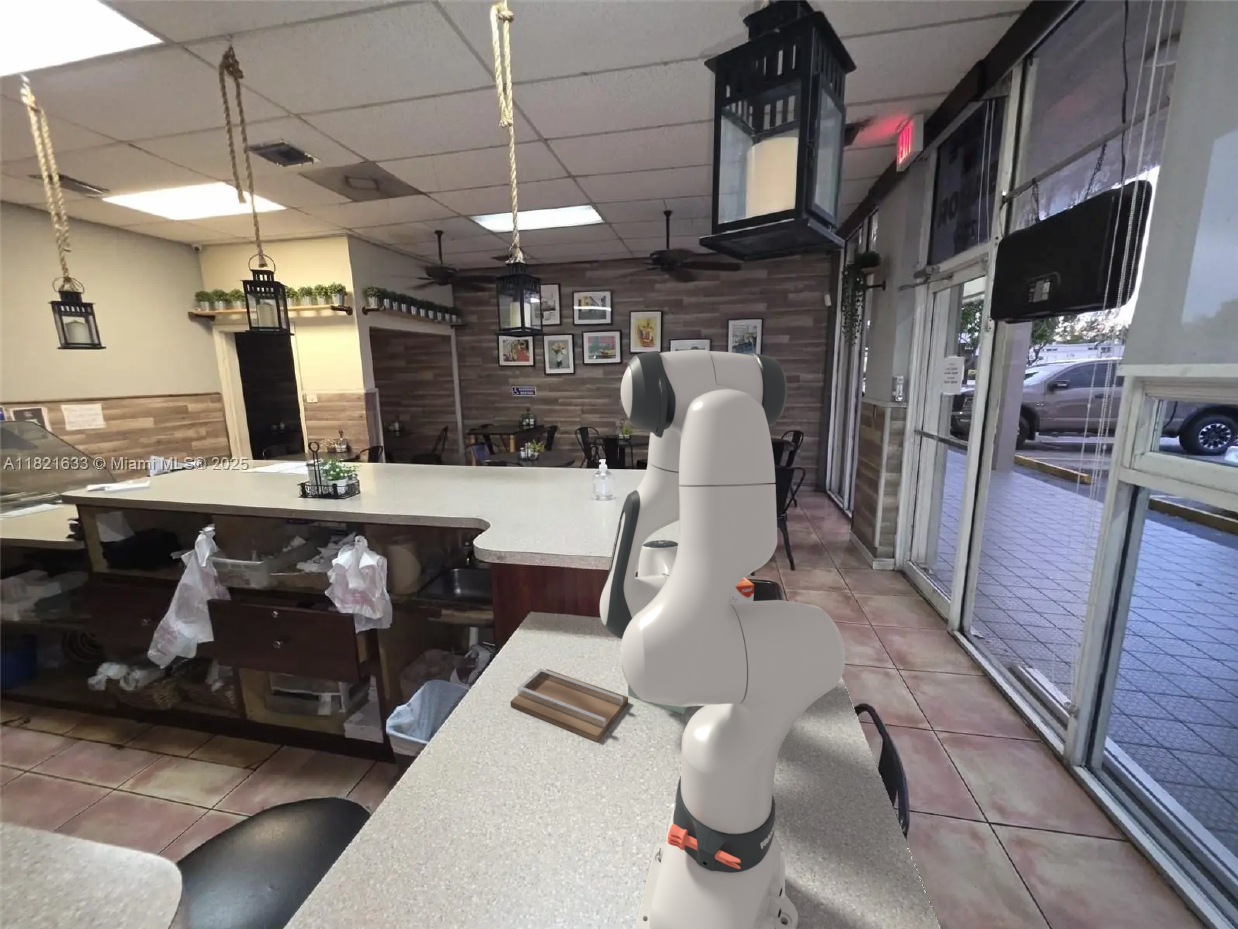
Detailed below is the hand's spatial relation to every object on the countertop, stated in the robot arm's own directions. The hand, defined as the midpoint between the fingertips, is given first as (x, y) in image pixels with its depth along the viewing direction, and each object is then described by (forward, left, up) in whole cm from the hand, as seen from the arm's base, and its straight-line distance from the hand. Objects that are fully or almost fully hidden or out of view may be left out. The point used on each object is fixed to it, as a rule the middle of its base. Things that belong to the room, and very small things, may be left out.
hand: (659, 682), depth 99 cm
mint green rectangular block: (0, 0, -4) cm, 4 cm away
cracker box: (+15, -7, -4) cm, 17 cm away
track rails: (-10, +15, -2) cm, 18 cm away
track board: (-10, +15, -4) cm, 18 cm away
